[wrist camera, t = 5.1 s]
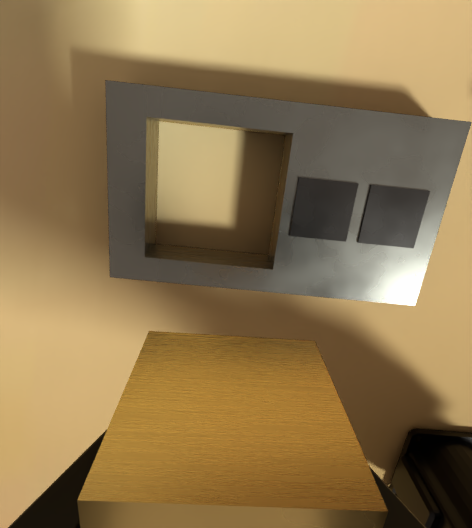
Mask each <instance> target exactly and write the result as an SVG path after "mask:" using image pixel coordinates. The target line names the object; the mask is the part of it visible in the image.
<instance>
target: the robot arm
mask: <svg viewBox="0 0 472 528" xmlns="http://www.w3.org/2000/svg"><path fill="white" fill-rule="evenodd" d="M106 431H107V430H106ZM106 431H105V432H104V433H103V434H102V435H101V436H100V437H99V438H98V439H97V440H96V441H95V442H94V443H93V444H92V445H91V446H90V447H89V448H88V449H87V450H86V451H85V452H84V453H83V454H82V455H81V456H80V457H79V458H78V459H77V460H76V461H75V462H74V463H73V464H72V465H71V466H70V467H69V468H68V469H67V470H66V471H65V472H64V473H63V474H62V475H61V476H60V477H59V478H58V479H57V480H56V481H55V482H54V483H53V484H52V485H51V486H50V487H49V488H48V489H47V490H46V491H45V492H44V493H43V494H42V495H41V496H40V497H38V498H37V499H36V500H35V501H34V502H33V503H32V504H31V505H30V506H29V507H28V508H27V509H26V510H25V511H24V512H23V513H22V514H21V515H20V516H19V517H18V518H17V519H16V520H15V521H14V522H13V523H12V524H11V525H10V526H9V527H8V528H80V520H79V511H78V503H77V500H78V497H79V495H80V493H81V490H82V488H83V485H84V483H85V481H86V478H87V476H88V474H89V471H90V469H91V467H92V464H93V462H94V460H95V457H96V455H97V453H98V450H99V448H100V446H101V443H102V441H103V438H104V436H105V434H106ZM368 466H369V465H368ZM369 468H370V467H369ZM370 470H371V473H372V475H373V477H374V479H375V482H376V484H377V486H378V489H379V491H380V493H381V496H382V498H383V500H384V503H385V505H386V507H387V510H388V514H387V517H386V520H385V523H384V526H383V528H472V433H463V432H451V431H439V430H426V429H413V430H411V431H410V432H409V433H408V436H407V439H406V441H405V444H404V447H403V450H402V453H401V456H400V458H399V461H398V464H397V467H396V470H395V473H394V475H393V478H392V481H391V485H390V487H388V486H387V485H386V484H385V483H384V482H383V481H382V480H381V479H380V477H379V476H378V475H377V474H376V473H375V472H374V471H373V470H372V469H371V468H370Z"/></svg>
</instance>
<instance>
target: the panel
mask: <svg viewBox="0 0 472 528" xmlns="http://www.w3.org/2000/svg"><path fill="white" fill-rule="evenodd" d="M159 121H162V122H171V123H180V124H189V125H198V126H207V127H216V128H225V129H234V130H243V131H252V132H261V133H270V134H279V135H285V141H284V148H283V155H282V162H281V169H280V176H279V183H278V191H277V198H276V205H275V212H274V219H273V226H272V233H271V240H270V247H269V254H268V255H265V254H255V253H245V252H234V251H224V250H214V249H204V248H193V247H183V246H173V245H163V244H156V215H157V176H158V136H159ZM106 125H107V170H108V215H109V260H110V277H114V278H125V279H135V280H146V281H157V282H167V283H178V284H189V285H199V286H210V287H221V288H231V289H242V290H253V291H263V292H274V293H284V294H295V295H306V296H316V297H327V298H338V299H348V300H359V301H370V302H380V303H391V304H402V305H412V306H415V304H416V301H417V298H418V295H419V291H420V288H421V285H422V282H423V278H424V275H425V272H426V269H427V265H428V262H429V259H430V256H431V252H432V249H433V246H434V243H435V239H436V236H437V233H438V230H439V226H440V223H441V220H442V217H443V213H444V210H445V207H446V204H447V200H448V197H449V194H450V191H451V187H452V184H453V181H454V178H455V174H456V171H457V168H458V165H459V161H460V158H461V155H462V152H463V148H464V145H465V142H466V139H467V135H468V132H469V129H470V126H471V122H466V121H457V120H449V119H440V118H431V117H422V116H414V115H405V114H396V113H387V112H379V111H370V110H361V109H352V108H344V107H335V106H326V105H317V104H309V103H300V102H291V101H282V100H274V99H265V98H256V97H247V96H239V95H230V94H221V93H212V92H204V91H195V90H186V89H178V88H169V87H160V86H151V85H143V84H134V83H125V82H116V81H108V80H106Z"/></svg>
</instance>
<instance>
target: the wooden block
mask: <svg viewBox="0 0 472 528" xmlns="http://www.w3.org/2000/svg"><path fill="white" fill-rule="evenodd" d="M77 503H78V511H79V520H80V528H383V526H384V523H385V520H386V517H387V514H388V510H387V507H386V505H385V503H384V500H383V498H382V496H381V493H380V491H379V489H378V486H377V484H376V482H375V479H374V477H373V475H372V473H371V470H370V468H369V466H368V463H367V461H366V459H365V456H364V454H363V452H362V449H361V447H360V445H359V442H358V440H357V438H356V435H355V433H354V431H353V428H352V426H351V424H350V421H349V419H348V417H347V414H346V412H345V410H344V407H343V405H342V403H341V400H340V398H339V396H338V394H337V391H336V389H335V387H334V384H333V382H332V380H331V377H330V375H329V373H328V370H327V368H326V366H325V363H324V361H323V359H322V356H321V354H320V352H319V349H318V347H317V345H316V342H315V341H308V340H291V339H274V338H257V337H240V336H223V335H206V334H189V333H172V332H155V331H149V333H148V335H147V337H146V340H145V342H144V344H143V347H142V349H141V351H140V354H139V356H138V359H137V361H136V363H135V366H134V368H133V370H132V373H131V375H130V377H129V380H128V382H127V384H126V387H125V389H124V391H123V394H122V396H121V399H120V401H119V403H118V406H117V408H116V410H115V413H114V415H113V417H112V420H111V422H110V424H109V427H108V429H107V431H106V434H105V436H104V438H103V441H102V443H101V446H100V448H99V450H98V453H97V455H96V457H95V460H94V462H93V464H92V467H91V469H90V471H89V474H88V476H87V478H86V481H85V483H84V485H83V488H82V490H81V493H80V495H79V497H78V500H77Z"/></svg>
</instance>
